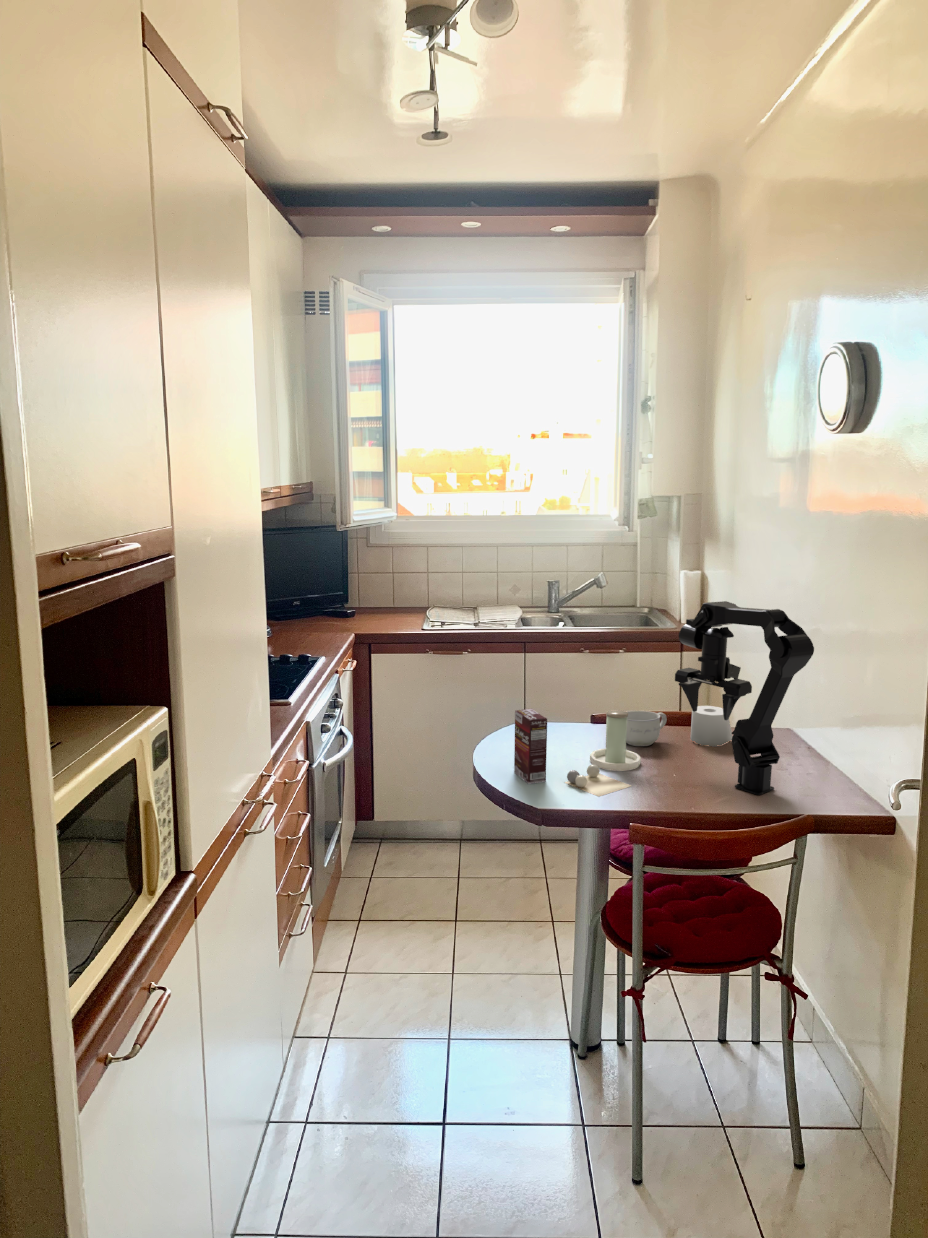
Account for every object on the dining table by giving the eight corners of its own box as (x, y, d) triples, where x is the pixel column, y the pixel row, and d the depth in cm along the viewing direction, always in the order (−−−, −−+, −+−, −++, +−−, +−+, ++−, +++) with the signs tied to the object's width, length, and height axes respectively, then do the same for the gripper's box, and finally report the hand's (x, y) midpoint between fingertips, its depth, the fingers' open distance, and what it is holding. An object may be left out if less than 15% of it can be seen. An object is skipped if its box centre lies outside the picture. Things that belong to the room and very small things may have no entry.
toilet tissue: (739, 738, 240) (741, 708, 238) (713, 749, 231) (715, 717, 229) (710, 731, 246) (711, 701, 245) (683, 741, 237) (685, 710, 236)
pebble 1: (582, 783, 204) (582, 771, 203) (573, 786, 202) (573, 773, 201) (573, 779, 206) (573, 767, 206) (564, 782, 204) (564, 770, 204)
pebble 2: (589, 787, 201) (590, 775, 201) (581, 790, 199) (581, 778, 199) (580, 784, 203) (581, 772, 203) (572, 786, 202) (572, 775, 201)
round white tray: (649, 765, 217) (650, 757, 217) (616, 775, 210) (616, 767, 210) (613, 752, 227) (613, 745, 226) (580, 762, 219) (580, 754, 219)
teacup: (629, 751, 228) (630, 721, 227) (611, 738, 239) (612, 710, 237) (677, 747, 232) (678, 717, 231) (657, 734, 242) (659, 706, 241)
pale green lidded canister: (629, 764, 216) (631, 715, 214) (607, 765, 215) (609, 716, 213) (622, 757, 221) (624, 709, 219) (601, 758, 221) (603, 710, 218)
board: (631, 787, 202) (632, 786, 202) (598, 798, 196) (598, 796, 196) (597, 774, 211) (597, 772, 211) (564, 784, 204) (564, 782, 204)
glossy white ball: (601, 777, 208) (602, 765, 207) (593, 780, 206) (593, 768, 205) (592, 774, 210) (593, 762, 210) (583, 776, 208) (584, 764, 208)
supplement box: (512, 773, 211) (514, 709, 208) (531, 771, 213) (532, 708, 210) (527, 786, 203) (529, 719, 200) (546, 783, 205) (548, 717, 202)
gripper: (767, 655, 210) (763, 718, 212) (702, 642, 224) (699, 702, 227) (739, 661, 203) (735, 727, 206) (674, 648, 217) (671, 709, 220)
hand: (710, 715), depth 215 cm, fingers open, 9 cm apart
